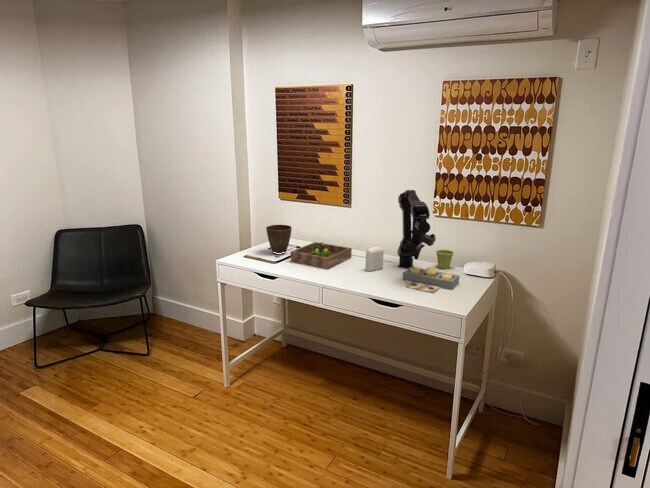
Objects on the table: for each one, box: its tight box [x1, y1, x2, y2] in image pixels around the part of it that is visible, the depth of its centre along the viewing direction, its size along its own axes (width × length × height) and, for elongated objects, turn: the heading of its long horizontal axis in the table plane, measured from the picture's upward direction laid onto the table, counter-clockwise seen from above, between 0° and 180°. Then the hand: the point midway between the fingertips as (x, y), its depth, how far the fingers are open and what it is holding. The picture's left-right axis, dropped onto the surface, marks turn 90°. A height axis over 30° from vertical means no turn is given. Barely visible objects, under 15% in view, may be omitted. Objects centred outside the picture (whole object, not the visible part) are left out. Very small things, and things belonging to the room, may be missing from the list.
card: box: [405, 282, 440, 294], centre depth 217 cm, size 14×8×1 cm, turn 57°
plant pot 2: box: [435, 249, 455, 270], centre depth 247 cm, size 9×9×9 cm
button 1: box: [410, 267, 422, 274], centre depth 229 cm, size 5×5×4 cm
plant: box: [307, 242, 335, 258], centre depth 259 cm, size 20×20×11 cm
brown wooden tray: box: [290, 241, 352, 270], centre depth 259 cm, size 25×25×6 cm
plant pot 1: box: [265, 224, 292, 256], centre depth 271 cm, size 15×15×16 cm
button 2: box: [425, 266, 437, 277], centre depth 224 cm, size 5×5×4 cm
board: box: [402, 266, 460, 291], centre depth 225 cm, size 25×11×4 cm, turn 57°
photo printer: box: [365, 246, 384, 272], centre depth 242 cm, size 10×4×12 cm, turn 123°
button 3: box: [441, 272, 452, 280], centre depth 221 cm, size 5×5×4 cm
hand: (416, 259), depth 227 cm, fingers closed
